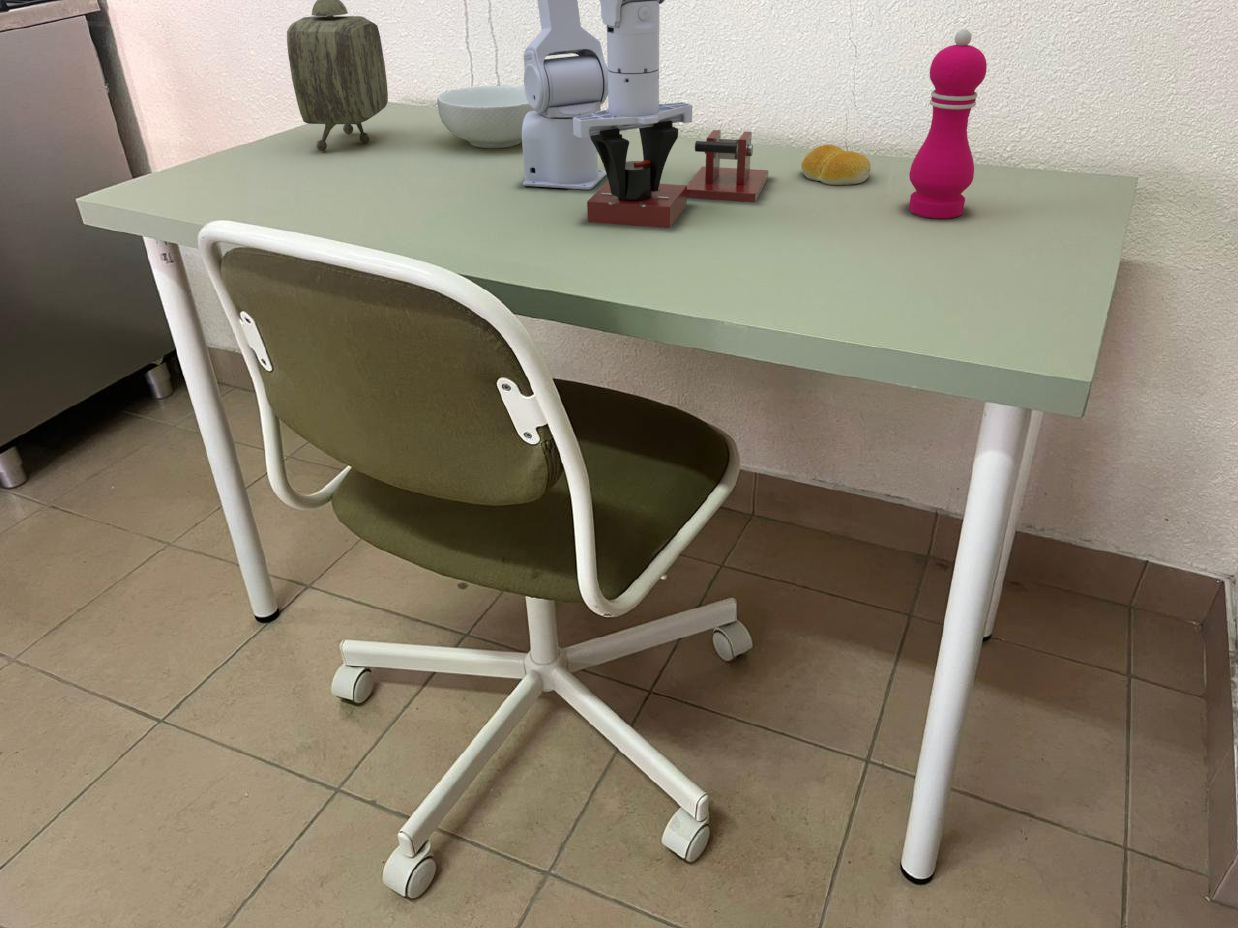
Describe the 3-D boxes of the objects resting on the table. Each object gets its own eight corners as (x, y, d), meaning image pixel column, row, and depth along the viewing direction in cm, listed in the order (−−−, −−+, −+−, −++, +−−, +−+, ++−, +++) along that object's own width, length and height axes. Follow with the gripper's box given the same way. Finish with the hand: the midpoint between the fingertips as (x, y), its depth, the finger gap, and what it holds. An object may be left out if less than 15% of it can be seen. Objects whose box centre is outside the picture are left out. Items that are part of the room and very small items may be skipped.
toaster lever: (735, 159, 112) (737, 137, 111) (693, 156, 113) (695, 135, 113) (749, 160, 122) (750, 140, 122) (710, 158, 124) (712, 138, 123)
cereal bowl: (546, 155, 140) (543, 105, 136) (433, 157, 140) (427, 107, 136) (554, 128, 154) (552, 82, 150) (452, 130, 155) (447, 84, 151)
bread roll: (844, 191, 122) (847, 159, 120) (790, 177, 128) (792, 146, 126) (883, 178, 127) (887, 147, 124) (830, 165, 132) (832, 136, 130)
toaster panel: (585, 225, 112) (585, 201, 111) (609, 201, 120) (608, 179, 119) (668, 231, 110) (668, 207, 109) (686, 206, 118) (687, 183, 116)
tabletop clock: (343, 132, 155) (314, -42, 142) (396, 132, 154) (372, -42, 141) (306, 154, 143) (271, -33, 130) (364, 155, 142) (334, -34, 128)
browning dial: (628, 203, 110) (627, 169, 108) (611, 194, 113) (611, 161, 111) (658, 197, 112) (658, 164, 110) (640, 189, 115) (640, 156, 113)
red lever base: (755, 203, 118) (758, 147, 115) (684, 198, 121) (685, 143, 117) (767, 179, 127) (771, 126, 124) (701, 175, 129) (703, 123, 126)
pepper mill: (968, 204, 116) (999, 25, 106) (966, 222, 111) (999, 35, 100) (907, 200, 118) (932, 24, 108) (901, 217, 113) (927, 33, 102)
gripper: (592, 82, 99) (596, 211, 107) (708, 68, 105) (704, 191, 112) (562, 72, 105) (567, 195, 112) (674, 59, 111) (673, 177, 118)
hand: (634, 192), depth 113 cm, fingers closed on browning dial, 4 cm apart
